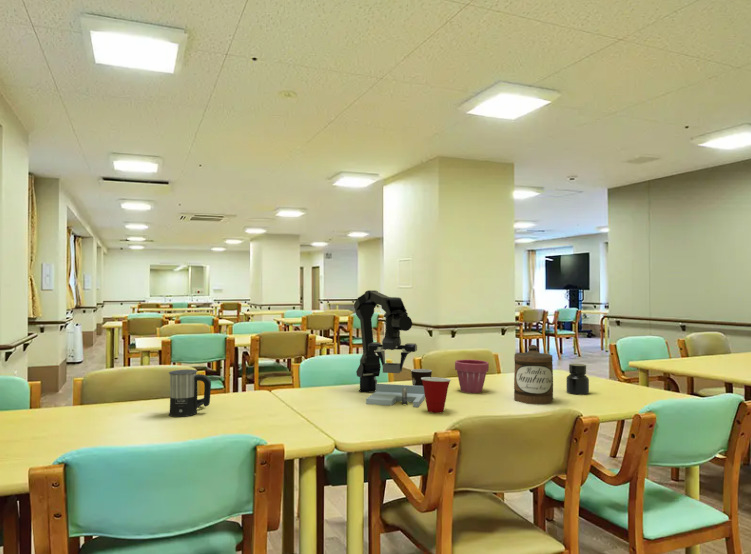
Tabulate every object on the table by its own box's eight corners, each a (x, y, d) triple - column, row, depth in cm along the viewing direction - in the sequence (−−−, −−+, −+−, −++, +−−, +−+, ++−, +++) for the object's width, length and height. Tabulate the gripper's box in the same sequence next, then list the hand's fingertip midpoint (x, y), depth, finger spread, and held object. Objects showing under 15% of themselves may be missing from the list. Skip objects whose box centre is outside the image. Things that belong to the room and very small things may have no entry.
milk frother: (169, 418, 177) (170, 374, 178) (164, 408, 191) (165, 367, 192) (213, 414, 184) (214, 371, 184) (205, 405, 198) (206, 365, 198)
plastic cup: (454, 409, 194) (454, 376, 194) (445, 415, 184) (445, 381, 184) (426, 406, 199) (426, 374, 199) (416, 412, 189) (416, 378, 189)
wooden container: (515, 403, 205) (516, 346, 205) (512, 395, 220) (512, 342, 220) (556, 405, 203) (556, 347, 203) (549, 397, 217) (549, 343, 218)
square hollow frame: (382, 372, 206) (382, 364, 206) (386, 370, 213) (386, 362, 213) (398, 373, 205) (398, 365, 205) (402, 370, 211) (402, 363, 211)
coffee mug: (432, 396, 216) (432, 372, 216) (411, 396, 216) (411, 372, 216) (430, 391, 228) (430, 367, 228) (410, 391, 228) (410, 367, 228)
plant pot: (493, 390, 231) (493, 360, 231) (481, 395, 219) (481, 364, 219) (462, 387, 239) (462, 358, 239) (449, 392, 227) (449, 361, 227)
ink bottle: (594, 393, 225) (594, 365, 226) (581, 396, 220) (581, 367, 221) (574, 390, 233) (574, 362, 234) (561, 392, 228) (561, 364, 229)
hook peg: (401, 404, 202) (401, 388, 202) (402, 403, 204) (402, 387, 204) (406, 404, 201) (406, 388, 201) (407, 403, 203) (407, 387, 203)
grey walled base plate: (366, 404, 202) (366, 390, 202) (376, 395, 217) (376, 383, 217) (418, 407, 197) (418, 393, 197) (424, 398, 212) (425, 386, 213)
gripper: (364, 330, 204) (364, 371, 203) (412, 331, 199) (412, 373, 199) (371, 328, 214) (371, 367, 214) (417, 329, 210) (417, 369, 209)
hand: (392, 369), depth 209 cm, fingers closed on square hollow frame, 6 cm apart
